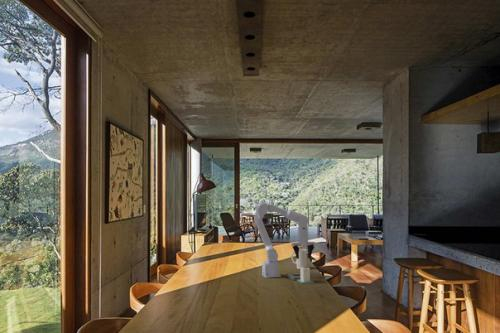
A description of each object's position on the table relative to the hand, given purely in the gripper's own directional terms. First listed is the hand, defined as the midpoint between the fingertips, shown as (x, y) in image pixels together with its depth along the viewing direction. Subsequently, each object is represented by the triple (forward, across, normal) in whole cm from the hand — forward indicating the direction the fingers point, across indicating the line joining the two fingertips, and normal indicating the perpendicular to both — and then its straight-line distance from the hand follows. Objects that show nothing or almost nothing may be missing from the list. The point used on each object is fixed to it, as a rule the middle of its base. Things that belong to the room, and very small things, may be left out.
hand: (303, 258), depth 234 cm
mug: (+11, +6, +21) cm, 24 cm away
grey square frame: (+10, -6, -4) cm, 13 cm away
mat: (+10, -5, -13) cm, 18 cm away
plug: (+10, -5, -13) cm, 17 cm away
